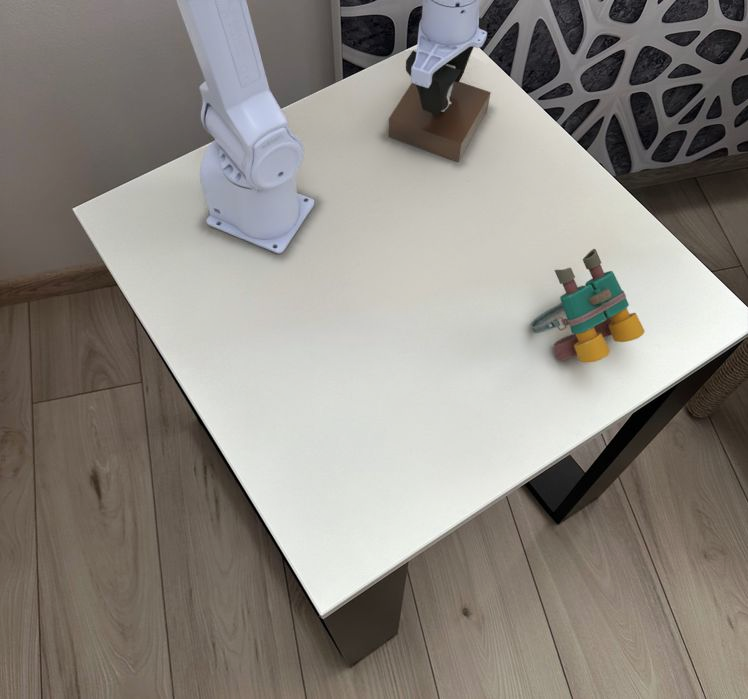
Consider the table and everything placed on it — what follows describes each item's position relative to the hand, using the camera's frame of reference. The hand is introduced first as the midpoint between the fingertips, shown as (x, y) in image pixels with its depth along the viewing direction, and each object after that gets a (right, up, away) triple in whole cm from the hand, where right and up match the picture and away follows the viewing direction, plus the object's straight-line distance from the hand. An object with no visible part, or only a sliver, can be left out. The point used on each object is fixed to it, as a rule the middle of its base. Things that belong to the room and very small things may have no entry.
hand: (441, 94), depth 88 cm
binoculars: (+13, -28, -10) cm, 33 cm away
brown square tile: (0, -2, +4) cm, 5 cm away
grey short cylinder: (0, -1, +2) cm, 2 cm away
